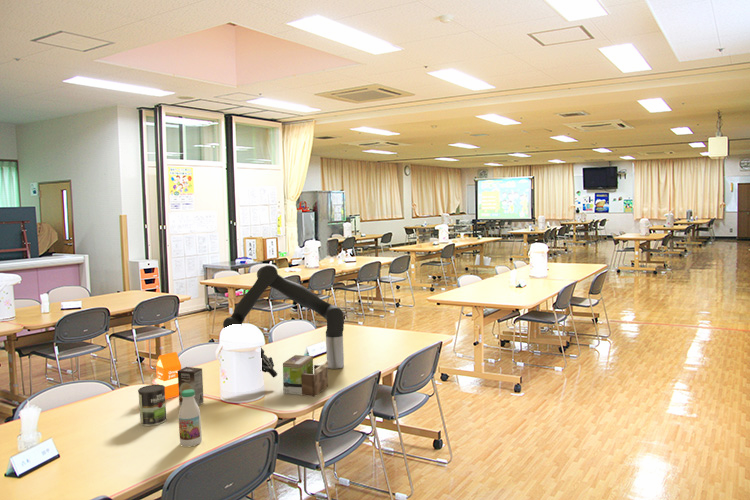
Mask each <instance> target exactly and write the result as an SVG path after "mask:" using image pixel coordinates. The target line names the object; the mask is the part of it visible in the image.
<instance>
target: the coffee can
mask: <svg viewBox="0 0 750 500" xmlns="http://www.w3.org/2000/svg"><path fill="white" fill-rule="evenodd" d="M137 393H138V405H139V420H140V421H139V422H140V425H141V426H143V427H154V426H158V424H159V425H161V424H163V422H164V423H165V422H167V408H166V407H167V404H166V399H165V386H164V385H157V384H150V385H145V386H141V387H140V388H139V389H137Z"/></svg>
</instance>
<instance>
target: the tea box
mask: <svg viewBox="0 0 750 500" xmlns="http://www.w3.org/2000/svg"><path fill="white" fill-rule="evenodd" d="M302 373H303V374H314V356H313V355H302V354H300V355H299V354H295V355H293V356H292V357H290V358H288V359H287V360H286V361H284V362H283V363H282V385H283V388H282V389H283V394H287V395H288V394H290V395H302V379H301V374H302Z"/></svg>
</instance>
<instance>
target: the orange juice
mask: <svg viewBox="0 0 750 500" xmlns="http://www.w3.org/2000/svg"><path fill="white" fill-rule="evenodd" d="M181 369H182V364H181V361H180V358H179V356H178V353H177V351H174V352H170V353H164V354H160V355H159V356H158V358H157V362H156V366H155V370H156V371H155V372H156V385H164V386H165V400H168V399H171V398H173V397H174V398H175V397H179V388H178V370H181Z"/></svg>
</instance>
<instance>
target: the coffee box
mask: <svg viewBox="0 0 750 500" xmlns="http://www.w3.org/2000/svg"><path fill="white" fill-rule="evenodd" d="M203 379H204V378H203V368H201V367H200V368H199V367H193V366H192V367H191V366H185V367H183V368H181V370H178V388H179V395H178V403H179V404H178V405H179V406H181V405H182V401H183V398H182V391H184V390H188V389H193V390H194V391H195V396H194V398H195V401H196V403H197V405H199V406H201V405H202V404H204V403H203V402H205V401H204V382H203ZM201 403H202V404H201Z"/></svg>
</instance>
